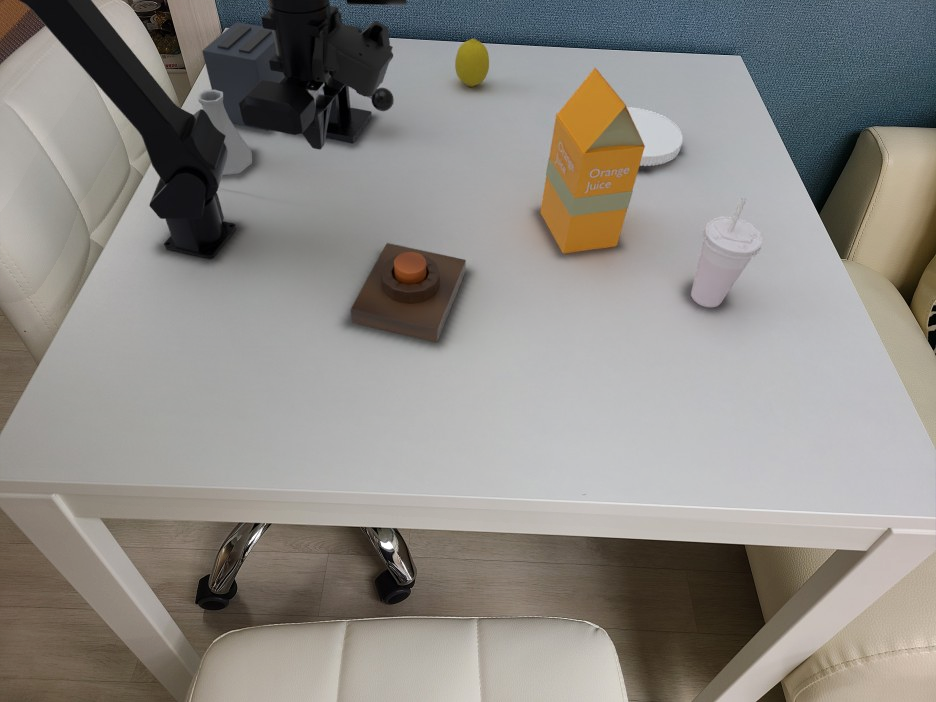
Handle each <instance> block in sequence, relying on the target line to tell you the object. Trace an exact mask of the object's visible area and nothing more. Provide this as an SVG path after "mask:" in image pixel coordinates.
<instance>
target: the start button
mask: <svg viewBox="0 0 936 702" xmlns="http://www.w3.org/2000/svg"><path fill="white" fill-rule="evenodd" d="M394 275H395V278H396V279H397V280H398V281H399V282H400V283H402V284H407V285H412V284H418V283H420V282H422V281H423V280H424V279H425V277H426V260H425V258H424V257H423V256H422V255H420V254H418V253H414V252H406V253H402V254H400V255H398V256H397V257H396V258H395V260H394Z"/></svg>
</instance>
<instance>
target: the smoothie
mask: <svg viewBox="0 0 936 702" xmlns="http://www.w3.org/2000/svg"><path fill="white" fill-rule="evenodd" d="M746 201H747V198H746V197H741V198H740V199H739V202H738V204H737V206H736V209H735V211H734V214H733V216H717V217H714V218H712V219H710V220H709V221H708V222H707V223H706V224H705V228H704V229H703V231H702V239H703V241H702V245H701V249H700V253H699V258H698V261H697V266H696V270H695V275H694V278H693V283H692V287H691V292H690V296H691V298H692V300H693V301H694V302H695V303H696V304H697V305H700V306H701V307H704V308H716V307H719V306H720V305H721V304H722V302H723V301H724V299H725V298H726V296H727V295H728V293H729V292H730V290H731V289H732V288H733V286H734V285H735V283H736V282H737V280H738V279H739V278H740V276H741V274H743V271H744V270H745V268H746V267H747V265H748V264H749V263H750V261H751V259H752V258H753V257H755V256H757V255H758V254H759V253H760V251H761V249H762V246H763V243H764V238H763V235H762V233H761V231H760V230H759V229H758V228H757V227H755V225H753V224H752V223H750V222H748V221H747V220H744V219H741V218H739V217H740V216H741V213H742V211H743V208H744V207H745V204H746Z"/></svg>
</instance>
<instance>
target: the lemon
mask: <svg viewBox="0 0 936 702" xmlns="http://www.w3.org/2000/svg"><path fill="white" fill-rule="evenodd" d="M454 61H455V63H454V67H455V73H456V76H457V78H458V79H459V81H460V82H461V83H462V84H464V85H467V86H468V87H469V88H473V87H475V86H477V85H479V84H481V83H482V82H484V80H486V78H487V76H488V73H489V70H490V56H489V51H488V50H487V48H486V46H485V44H484V43H482V42H481V41H480V40H477V39H476V38H471V39H468V40H466V41H464V42H463V43H462V44H461V45H460V46H459V48H458V49H457V52H456V55H455V60H454Z"/></svg>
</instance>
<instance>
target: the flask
mask: <svg viewBox="0 0 936 702" xmlns="http://www.w3.org/2000/svg"><path fill="white" fill-rule="evenodd" d="M197 101H198V103H199V104H201V106H202V109H203V110H204V111H205V112H206V113H207V115H208V116H209V118H210V120H211V122H212V123H213V125H214V126H215V127H216V128H217V129H218V130H219V131H220V132H221V133H223V134H224V135H225V136H226V137H225V140H224V143H225V145H226V147H227V151H228V153H227V161H226V164H225V168H224V171H223V174H222V176H225V175H237V174H241V173H242V172H244V171H245V170H246V169H247V168H248V167H249V166H251V165H252V164H253V152H252V150H251V149H250V147H249V146H248V144H247V142H246V141H245V140H244V139H243V137H242V135H241V134H240V133H239V132H238V130H237V128H236V127H235V124H232V122H231V121H230V119H229V117H228V115H227V113H226V110H225V108H224V105H223V92H221V91H218V90H212V89H204V90H203V91H201V92H199V93H198V95H197Z"/></svg>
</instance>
